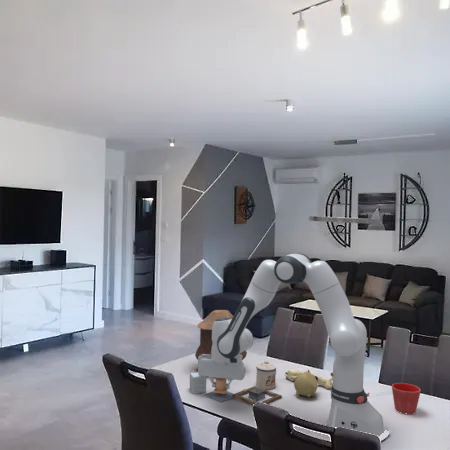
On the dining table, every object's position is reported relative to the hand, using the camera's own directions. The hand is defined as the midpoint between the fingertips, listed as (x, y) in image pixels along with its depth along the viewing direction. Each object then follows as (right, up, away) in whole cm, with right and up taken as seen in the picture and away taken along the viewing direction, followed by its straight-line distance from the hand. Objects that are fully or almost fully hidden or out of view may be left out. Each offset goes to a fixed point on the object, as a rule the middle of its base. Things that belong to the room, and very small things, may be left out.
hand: (220, 387), depth 201 cm
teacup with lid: (+21, -4, +14) cm, 26 cm away
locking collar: (+16, -4, -1) cm, 16 cm away
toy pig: (+37, -5, +3) cm, 38 cm away
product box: (-10, -4, +5) cm, 12 cm away
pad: (0, -4, 0) cm, 4 cm away
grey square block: (+16, -4, -1) cm, 16 cm away
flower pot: (+75, -6, -10) cm, 76 cm away
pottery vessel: (0, -3, +33) cm, 33 cm away
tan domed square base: (0, -2, 0) cm, 2 cm away
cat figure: (+41, -5, +18) cm, 45 cm away
